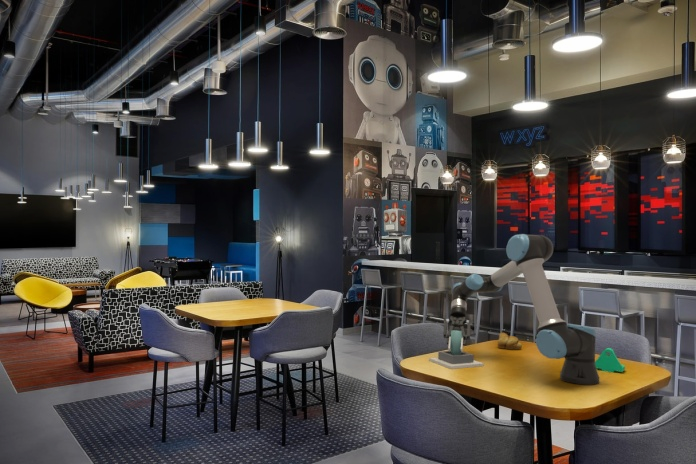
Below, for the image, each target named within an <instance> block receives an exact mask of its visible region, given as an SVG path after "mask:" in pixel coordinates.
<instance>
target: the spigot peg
mask: <svg viewBox="0 0 696 464" xmlns="http://www.w3.org/2000/svg"><path fill="white" fill-rule="evenodd" d="M462 337H463V336H462V331H461V330H457V329H454V330H452V331H451V348H450V351H451V353H450V354H451V355H461V338H462Z"/></svg>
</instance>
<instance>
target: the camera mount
mask: <svg viewBox="0 0 696 464" xmlns="http://www.w3.org/2000/svg"><path fill="white" fill-rule="evenodd" d="M608 353H609V354H608ZM595 365H596V369H600V370H601V371H602V372H606V371H608V372H607V373H615V372H621V373H623V372H624V371H625V369H626V365H624V364H622V363H621V362H620V360H619V359H618V357H617V355H616V353H615V350H613V348H611V347H607V348H605V349H604V350H603V351H602V352H601V353H600V355H599V356H598V357H597V358H596V359H595Z"/></svg>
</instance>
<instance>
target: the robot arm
mask: <svg viewBox="0 0 696 464" xmlns="http://www.w3.org/2000/svg"><path fill="white" fill-rule="evenodd" d="M505 250H506V252H505V253H506V255H507V258H508V259H509V260H511V261H509V262H508V263H507V264H505V265H503V266H502V267H501V268H499V269H498V270H496V271H495V272H493V273H492V274H490V275H489V276H481V275H480V274H477V273H472V274H470V275H469V276H468V277H467V278H466V279H465V280H464V281H463V282H457V283H456V282H455V283H454V284H453V287H452V291H451V294H452V295H451V304H450V316H449V317H448V318H443V325H444V326H443V333H442V335H443V338H444V339H446V345H448V348H447V349H448V350H447V351H449V352H450V351H451V331H452V330H455V328H460V331H462V338H461V352H464V350H463V348H464V347H465V346H466V343H467V340H468V341H470V339H471V326H472V325H473V322H472V321H473V320H472V319H469V320H468V319H467V309H468V308H467V307H468V306H467V305H468V299H469V298H471V297H472V296H473V295H474V294H475V293H476V294H477V293H478V294H479V293H497V292H500V291H502V289H503V288H504V285H506V284H508V283H509V282H510V281H513V280H514V279H515V278H517V277H519V276H520V275H522V274H523V275H522V276H523V278H524V282H525V283H526V286H527V290H528V292H529V296H530V299H531V302H532V305H533V308H534V312H535V314H536V317H537V320H538V322H539V325H538V327H537V331H538V333H537V334H536V338H535V345H536V347H537V349H538V351H539V353H540V354H541V355H542V356H543V357H546V358H547V359H552V360H553V359H554V360H555V359H556V360H561V359H564V362H563V363H562V364H563V365H562V367H561V371H560V373H559V378H560V380H561V381H564V382H567V383H571V384H577V385H589V386H590V385H599V384H600V376H599V374H598V373H599V372H598V370H597V369H598V368H596V365H595V361H596V338H597V337H596V330H595V328H594V327H592V326H588V325H582V324H581V325H580V324H575V323H574V324H573V323H567V321H566V320H564V319H562V318H561V315H560V313H559V310H558V307H557V304H556V301H555V299H554V295H553V292H552V290H551V286H550V284H549V281H548V278H547V275H546V273H545V270H544V267H543V264H544V263H545V262H546V261H548V260H549V259H550V258H551V257H552V256H553V253H554V244H553V242H552V241H551V239H550V238H549V237H547V236H545V235H542V234H525V233H520V234H514V235H513V236H511V237H510V238H509V239H508V242H507V245H506V249H505ZM449 323H450V324H451V325H450V327H449V329H448V324H449ZM465 324H466V325H467V329H466V330H467V333H466V332H465V328H464V325H465ZM447 330H448V332H447Z"/></svg>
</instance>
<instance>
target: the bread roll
mask: <svg viewBox="0 0 696 464" xmlns="http://www.w3.org/2000/svg"><path fill="white" fill-rule="evenodd" d="M522 346H523V344H522V343H521V342H520V341H519V338H518V337H517V336H514V335H508V334H507V333H505V332H500V333H499V334H498V340H497V347H498V348H499V349H506V350H520V349H522Z"/></svg>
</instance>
